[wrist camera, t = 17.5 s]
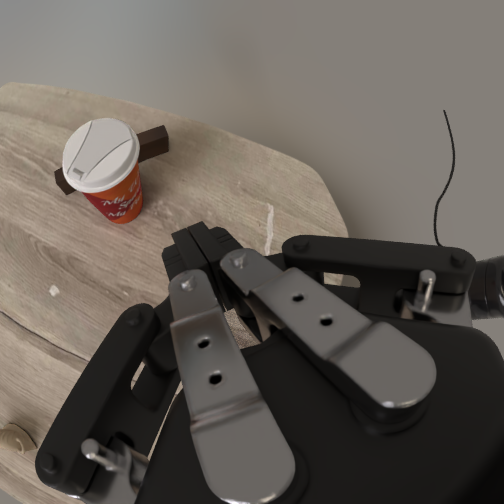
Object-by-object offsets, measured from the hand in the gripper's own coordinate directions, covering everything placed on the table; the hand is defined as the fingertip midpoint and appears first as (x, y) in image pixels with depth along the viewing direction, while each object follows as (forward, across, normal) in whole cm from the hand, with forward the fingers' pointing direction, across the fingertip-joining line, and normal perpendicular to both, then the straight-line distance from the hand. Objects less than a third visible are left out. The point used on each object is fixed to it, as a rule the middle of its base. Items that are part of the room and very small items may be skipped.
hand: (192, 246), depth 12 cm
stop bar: (+29, +5, -2) cm, 29 cm away
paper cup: (+25, +5, +3) cm, 26 cm away
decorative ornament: (+9, +37, +21) cm, 43 cm away
